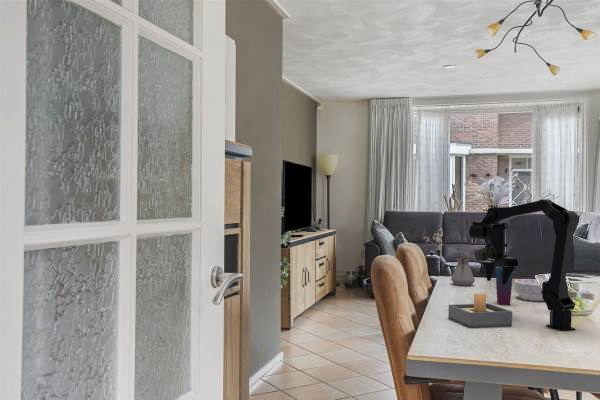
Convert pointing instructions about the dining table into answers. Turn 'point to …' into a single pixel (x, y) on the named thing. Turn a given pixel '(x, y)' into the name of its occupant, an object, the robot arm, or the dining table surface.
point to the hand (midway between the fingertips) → (496, 282)
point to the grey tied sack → (463, 273)
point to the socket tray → (480, 316)
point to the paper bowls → (528, 289)
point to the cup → (503, 289)
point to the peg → (479, 302)
